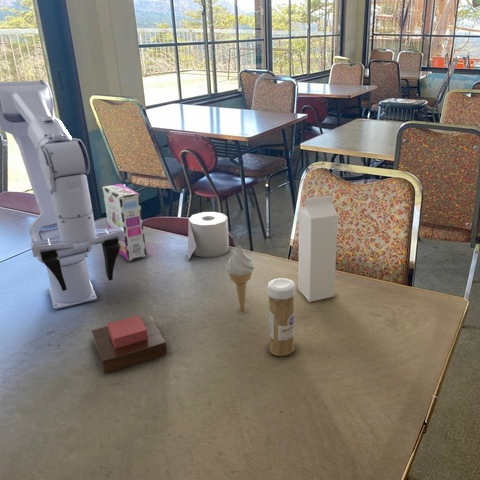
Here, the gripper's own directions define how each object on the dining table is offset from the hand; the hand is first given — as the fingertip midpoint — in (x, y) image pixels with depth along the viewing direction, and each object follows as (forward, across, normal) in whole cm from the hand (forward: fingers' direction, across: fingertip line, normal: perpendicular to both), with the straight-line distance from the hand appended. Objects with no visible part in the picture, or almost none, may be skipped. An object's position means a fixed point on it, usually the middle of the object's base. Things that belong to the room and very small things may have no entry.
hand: (87, 283), depth 87 cm
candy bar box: (+10, +13, +31) cm, 35 cm away
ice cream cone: (+10, +26, -9) cm, 29 cm away
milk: (+10, +43, -10) cm, 45 cm away
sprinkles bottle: (+10, +27, -24) cm, 37 cm away
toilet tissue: (+10, +30, +22) cm, 38 cm away
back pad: (+9, +4, -10) cm, 14 cm away
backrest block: (+9, +4, -10) cm, 14 cm away
